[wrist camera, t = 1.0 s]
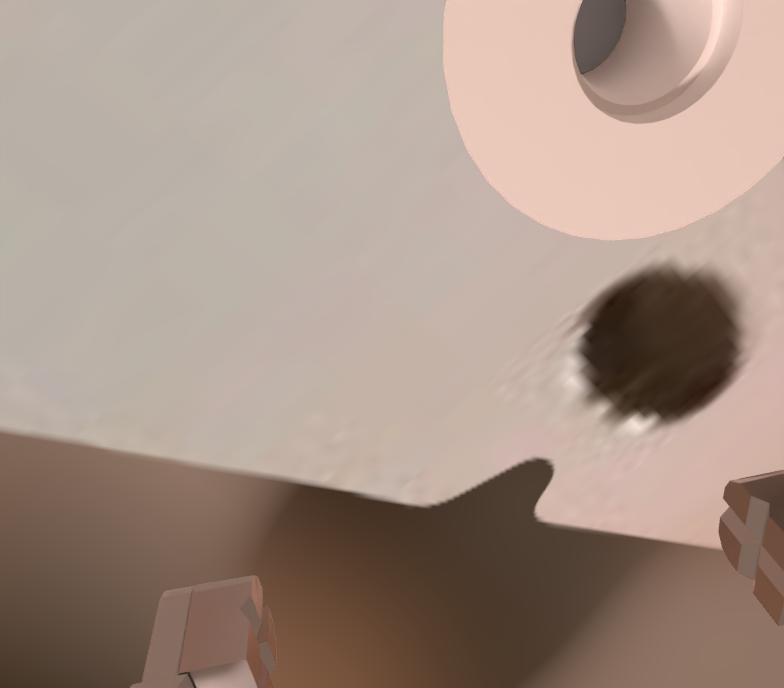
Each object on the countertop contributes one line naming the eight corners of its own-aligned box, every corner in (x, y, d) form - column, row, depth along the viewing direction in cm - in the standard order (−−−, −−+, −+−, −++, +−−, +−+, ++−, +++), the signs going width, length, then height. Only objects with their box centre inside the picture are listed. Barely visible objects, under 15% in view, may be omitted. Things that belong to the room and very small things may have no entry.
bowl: (574, 245, 55) (641, 306, 44) (338, 58, 46) (352, 80, 35) (803, -16, 47) (948, -16, 37) (577, -302, 38) (684, -410, 28)
